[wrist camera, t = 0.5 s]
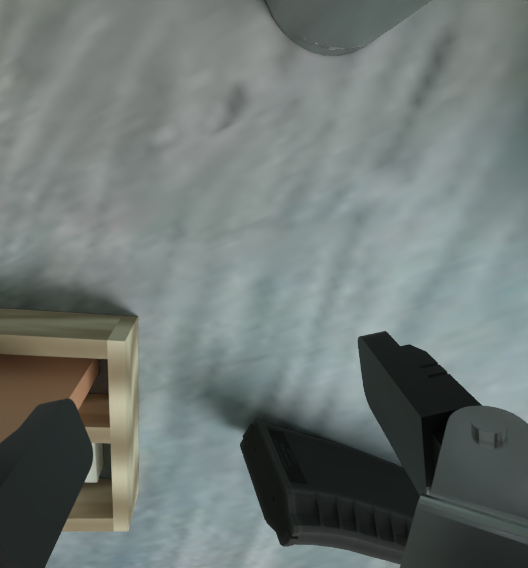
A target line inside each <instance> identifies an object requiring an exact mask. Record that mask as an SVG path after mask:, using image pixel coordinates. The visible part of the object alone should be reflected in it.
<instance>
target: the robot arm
mask: <svg viewBox="0 0 528 568" xmlns="http://www.w3.org/2000/svg"><path fill="white" fill-rule="evenodd" d="M430 1H431V0H266V2H267V5H268V7H269V9H270V11H271V14H272V16H273V18H274V20H275V21H276V23H277V24H278V25H279V27H280V28H281V30H282V31H283V32H284V33H285V34H286V35H287V36H288V37H289V38H290V39H291V40H292V41H293V42H294V43H296V44H297V45H299V46H301V47H302V48H304V49H306V50H308V51H310V52H313V53H317V54H320V55H329V56H339V55H344V54H348V53H353V52H355V51H357V50H359V49H361V48H363V47H365V46H367V45H368V44H370V43H371V42H373V41H374V40H375V39H377V38H378V37H380V36H381V35H383V34H384V33H385V32H387V31H388V30H390V29H391V28H393V27H394V26H396V25H397V24H399V23H400V22H401V21H403V20H404V19H406V18H407V17H409V16H410V15H411V14H413V13H414V12H416V11H417V10H419V9H420V8H421V7H423V6H424V5H426V4H427V3H428V2H430ZM358 349H359V357H360V365H361V372H362V380H363V387H364V392H365V396H366V399H367V402H368V404H369V406H370V409H371V410H372V412H373V414H374V416H375V417H376V419H377V421H378V423H379V424H380V426H381V428H382V430H383V432H384V433H385V435H386V437H387V439H388V440H389V442H390V444H391V446H392V447H393V449H394V451H395V453H396V455H397V456H398V458H399V460H400V462H401V463H402V465H403V467H404V469H405V470H406V472H407V474H408V476H409V477H410V479H411V481H412V483H413V485H414V486H415V488H416V490H417V492H418V493H419V495H420V498H419V501H418V503H417V507H416V510H415V514H414V518H413V521H412V525H411V529H410V533H409V536H408V540H407V544H406V547H405V551H404V555H403V558H402V562H401V566H400V568H528V424H527V423H526V422H525V421H524V420H522V419H521V418H520V417H518V416H516V415H515V414H513V413H510V412H508V411H506V410H503V409H499V408H495V407H490V406H482V405H481V404H480V403H479V402H478V401H477V400H476V399H475V398H474V397H473V396H472V395H471V394H469V393H468V392H467V391H466V390H465V389H464V388H463V387H462V386H461V385H460V384H459V383H458V382H457V381H456V380H455V379H454V378H453V377H452V376H451V375H450V374H447V371H446V370H445V369H444V368H443V367H442V366H440V365H438V363H437V362H436V361H435V360H434V359H433V358H432V357H431V356H430V355H429V354H428V353H427V352H426V351H423V350H421V349H419V348H416V347H414V346H412V345H410V344H409V345H404V346H399V345H398V344H397V342H396V341H395V340H394V339H393V338H392V337H391V336H390V335H389V334H388V333H387V332H386V331H383V332H379V333H374V334H369V335H365V336H360V337H359V338H358ZM92 463H93V447H92V443H91V441H90V438H89V436H88V433H87V431H86V429H85V426H84V424H83V421H82V419H81V417H80V414H79V412H78V409H77V407H76V405H75V403H74V402H73V401H72V400H71V399H69V398H66V399H61V400H57V401H52V402H47V403H43V404H39V405H38V406H36V408H35V409H34V410H33V411H32V412H31V414H30V415H29V416H28V417H27V419H26V420H25V421H24V422H23V424H22V425H21V426H20V427H19V428H18V429H17V430H16V431H15V432H13V433H12V434H11V435H10V436H8V437H7V438H6V439H5V440H3V441H2V442H1V443H0V568H45V566H46V564H47V562H48V559H49V557H50V555H51V553H52V551H53V549H54V546H55V544H56V542H57V540H58V538H59V536H60V534H61V531H62V529H63V527H64V525H65V523H66V521H67V519H68V516H69V514H70V512H71V510H72V508H73V506H74V504H75V501H76V499H77V497H78V495H79V493H80V491H81V489H82V486H83V484H84V482H85V480H86V478H87V476H88V474H89V471H90V469H91V467H92Z"/></svg>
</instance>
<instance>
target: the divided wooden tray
mask: <svg viewBox="0 0 528 568" xmlns="http://www.w3.org/2000/svg"><path fill="white" fill-rule="evenodd" d="M0 354H12V355H33V356H53V357H74V358H95V359H108V383H109V394H87V395H86V397H85V399H84V401H83V402H82V404H81V406H80V408H79V409H78V412H79V414H80V417H81V419H82V421H83V424H84V426H85V429H86V431H87V433H88V436H89V438H90V441H91V443H111V469H112V479H98V482H97V483H91V482H84V484H83V486H82V489H81V491H80V493H79V495H78V497H77V499H76V501H75V504H74V506H73V508H72V510H71V512H70V514H69V516H68V519H67V521H66V523H65V525H64V527H63V529H62V531H128V530H129V526H130V522H131V518H132V514H133V511H134V507H135V503H136V499H137V495H138V491H139V472H138V317H137V316H121V315H104V314H88V313H72V312H56V311H40V310H24V309H7V308H0Z"/></svg>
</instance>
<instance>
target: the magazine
mask: <svg viewBox="0 0 528 568" xmlns="http://www.w3.org/2000/svg"><path fill="white" fill-rule="evenodd" d="M240 447H241V450H242V453H243V456H244V459H245V462H246V465H247V468H248V471H249V474H250V477H251V480H252V483H253V486H254V489H255V492H256V495H257V498H258V501H259V504H260V506H261V509H262V512H263V515H264V518H265V520H266V522H267V523H268V525H269V526H270V527H271V528H272V529H273V530H274V531H275V532H276V534H277V537H278V539H279V542H280V544H281V545H282V546H290V545H294V544H296V545H319V546H327V547H334V548H339V549H345V550H350V551H353V552H357V553H360V554H364V555H367V556H371V557H375V558H378V559H382V560H386V561H390V562H393V563H397V564H401V562H402V558H403V555H404V551H405V547H406V544H407V540H408V536H409V533H410V529H411V525H412V521H413V518H414V514H415V510H416V507H417V503H418V501H419V498H420V495H419V493H418V492H417V490H416V488H415V486H414V485H413V483H412V481H411V479H410V477H409V476H408V474H407V472H406V470H405V469H404V468H401V467H399V466H397V465H394V464H392V463H389V462H387V461H384V460H382V459H379V458H377V457H374V456H371V455H369V454H366V453H363V452H361V451H358V450H355V449H352V448H349V447H346V446H343V445H340V444H337V443H334V442H330V441H327V440H324V439H320V438H317V437H313V436H310V435H306V434H303V433H299V432H296V431H292V430H288V429H285V428H281V427H278V426H274V425H271V424H267V423H264V422H263V421H262V420H260V419H256V420H255V421H254V423H253V424H250V426H249V427H248V429H247V430H246V432H245V433H244V435H243V440H242V441H241V443H240Z"/></svg>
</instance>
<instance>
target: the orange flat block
mask: <svg viewBox="0 0 528 568" xmlns="http://www.w3.org/2000/svg"><path fill="white" fill-rule="evenodd" d="M98 374H99V367H98V359H95V358H74V357H53V356H33V355H12V354H0V443H1V442H2V441H3V440H5V439H6V438H7V437H8V436H10V435H11V434H12V433H13V432H15V431H16V430H17V429H18V428H19V427H20V426H21V425H22V424H23V422H24V421H25V420H26V419H27V417H28V416H29V415H30V414H31V412H32V411H33V410H34V409H35V408H36V406H38V405H39V404H43V403H47V402H52V401H57V400H61V399H66V398H69V399H71V400H72V401H73V402H74V403H75V405H76V407H77V409H79V408H80V406H81V404H82V402H83V401H84V399H85V397H86V395H87V394H88V392H89V390H90V388H91V386H92V385H93V383H94V381H95V379H96V378H97V376H98Z"/></svg>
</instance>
